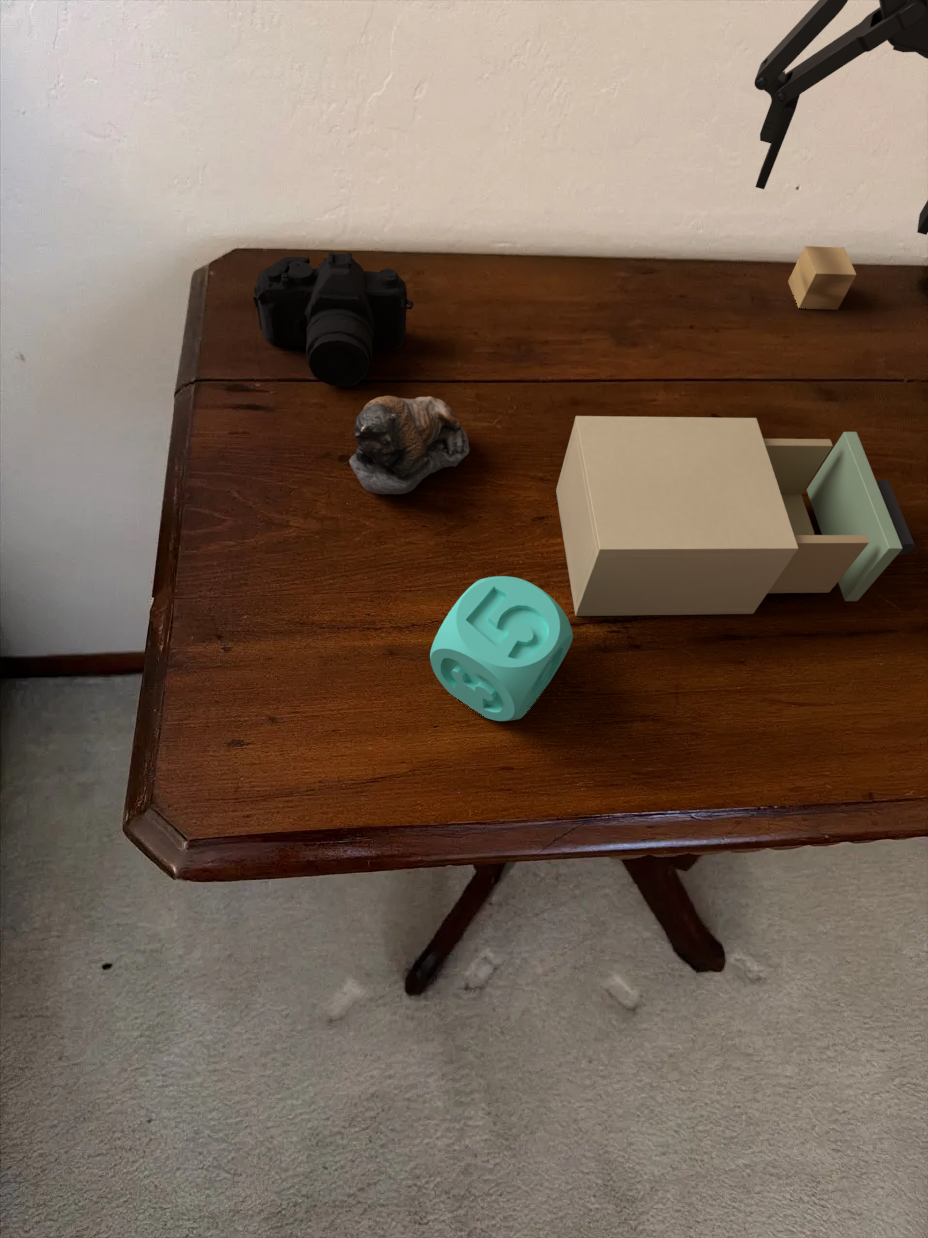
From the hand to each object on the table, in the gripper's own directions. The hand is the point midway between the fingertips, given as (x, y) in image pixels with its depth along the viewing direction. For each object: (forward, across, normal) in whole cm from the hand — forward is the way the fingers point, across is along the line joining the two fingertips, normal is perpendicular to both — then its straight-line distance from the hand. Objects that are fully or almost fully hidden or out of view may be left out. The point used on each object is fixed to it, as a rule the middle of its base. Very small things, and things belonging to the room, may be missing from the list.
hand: (841, 202), depth 74 cm
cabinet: (+20, -5, -25) cm, 33 cm away
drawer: (+19, +6, -21) cm, 29 cm away
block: (+20, +4, +17) cm, 27 cm away
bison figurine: (+20, -28, -26) cm, 43 cm away
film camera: (+20, -40, -15) cm, 47 cm away
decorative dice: (+20, -14, -42) cm, 49 cm away
